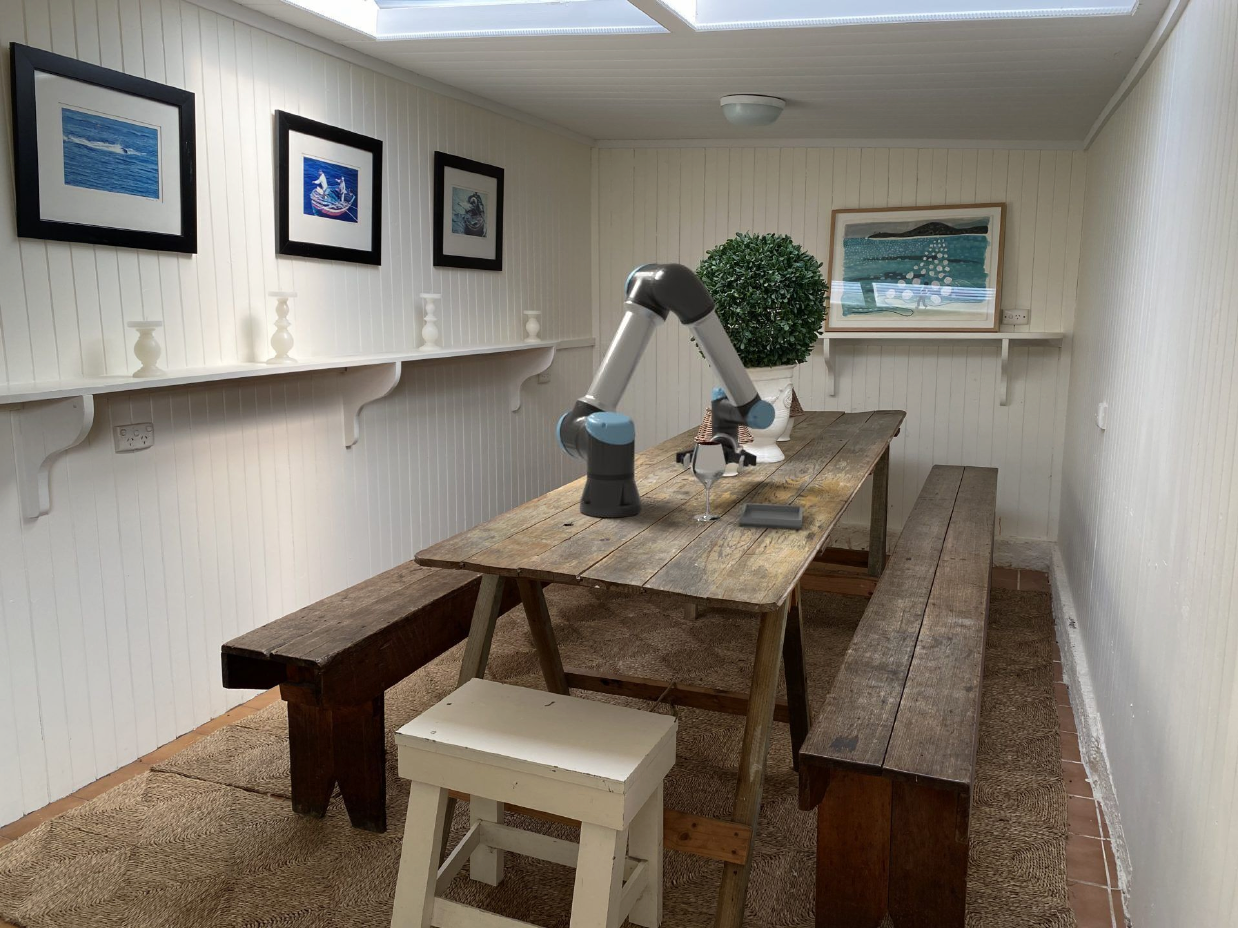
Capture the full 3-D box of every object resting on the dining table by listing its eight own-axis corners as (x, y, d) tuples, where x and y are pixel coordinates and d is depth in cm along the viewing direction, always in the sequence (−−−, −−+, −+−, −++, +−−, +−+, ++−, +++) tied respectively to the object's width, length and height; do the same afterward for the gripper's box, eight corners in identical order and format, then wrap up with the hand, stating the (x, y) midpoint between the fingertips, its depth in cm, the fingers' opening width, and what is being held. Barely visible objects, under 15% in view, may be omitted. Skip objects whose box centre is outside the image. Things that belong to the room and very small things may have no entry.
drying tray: (739, 526, 218) (739, 517, 217) (743, 512, 231) (744, 503, 231) (801, 529, 215) (801, 520, 215) (802, 514, 229) (802, 505, 228)
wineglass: (722, 523, 220) (724, 447, 217) (687, 521, 222) (688, 445, 219) (726, 515, 228) (727, 441, 225) (692, 513, 230) (693, 439, 226)
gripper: (768, 465, 251) (763, 482, 231) (674, 462, 256) (662, 478, 236) (768, 437, 250) (764, 451, 229) (674, 434, 254) (662, 448, 234)
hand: (712, 465), depth 232 cm, fingers open, 13 cm apart
